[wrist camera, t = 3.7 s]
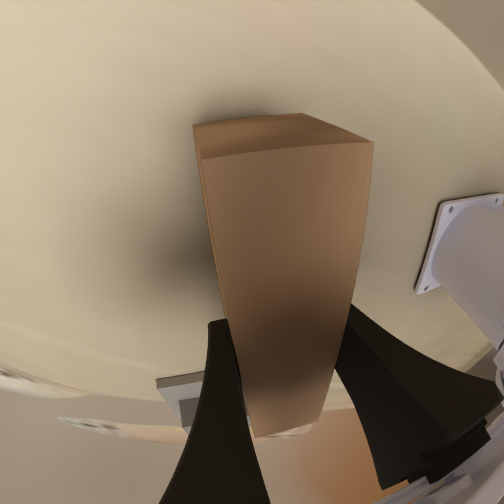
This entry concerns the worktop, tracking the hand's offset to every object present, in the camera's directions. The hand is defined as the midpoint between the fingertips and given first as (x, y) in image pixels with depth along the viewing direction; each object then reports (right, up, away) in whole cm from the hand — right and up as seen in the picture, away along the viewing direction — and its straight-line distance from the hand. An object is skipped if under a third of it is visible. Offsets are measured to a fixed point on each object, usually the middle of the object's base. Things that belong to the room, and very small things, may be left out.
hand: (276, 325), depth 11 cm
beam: (-1, +1, +2) cm, 2 cm away
